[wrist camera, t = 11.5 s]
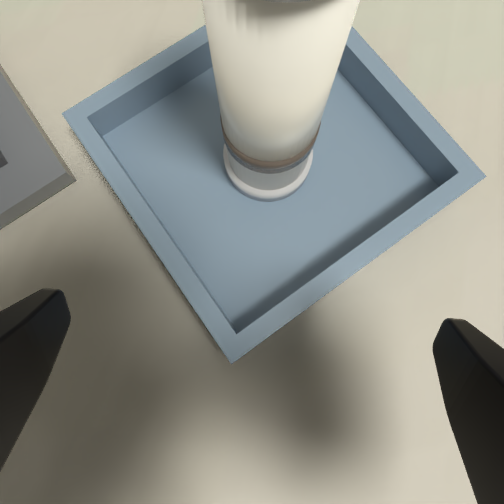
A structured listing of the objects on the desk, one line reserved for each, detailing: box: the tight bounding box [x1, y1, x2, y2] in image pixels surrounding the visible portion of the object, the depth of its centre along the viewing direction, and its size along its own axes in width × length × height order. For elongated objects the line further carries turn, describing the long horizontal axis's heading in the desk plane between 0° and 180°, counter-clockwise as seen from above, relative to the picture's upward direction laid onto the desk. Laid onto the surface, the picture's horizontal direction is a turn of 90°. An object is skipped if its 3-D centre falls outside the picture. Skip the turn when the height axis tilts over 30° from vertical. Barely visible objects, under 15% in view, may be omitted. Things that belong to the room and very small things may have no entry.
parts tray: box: [62, 25, 486, 364], centre depth 17 cm, size 13×13×2 cm
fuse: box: [202, 0, 360, 202], centre depth 12 cm, size 4×4×12 cm
